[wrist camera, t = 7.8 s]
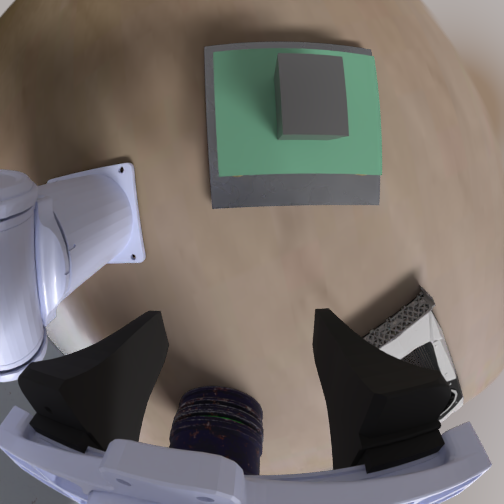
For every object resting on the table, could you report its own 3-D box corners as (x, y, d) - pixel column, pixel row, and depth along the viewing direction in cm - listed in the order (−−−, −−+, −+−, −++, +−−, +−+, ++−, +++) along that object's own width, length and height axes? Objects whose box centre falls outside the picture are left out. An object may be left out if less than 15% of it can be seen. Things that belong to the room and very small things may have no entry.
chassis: (214, 206, 20) (208, 213, 18) (206, 51, 16) (199, 39, 14) (374, 202, 19) (387, 209, 17) (366, 53, 15) (378, 43, 13)
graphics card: (434, 298, 19) (469, 405, 25) (416, 281, 22) (460, 391, 28) (338, 367, 21) (412, 443, 27) (331, 344, 24) (406, 428, 30)
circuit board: (221, 175, 17) (205, 183, 12) (215, 57, 14) (199, 25, 9) (375, 174, 16) (413, 182, 12) (368, 60, 14) (400, 35, 9)
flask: (20, 327, 26) (-80, 443, 2) (27, 311, 24) (-88, 439, 1) (111, 413, 30) (53, 552, 6) (126, 405, 29) (64, 563, 5)
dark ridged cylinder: (276, 425, 28) (278, 534, 14) (206, 437, 30) (189, 533, 16) (240, 376, 25) (227, 516, 11) (162, 393, 27) (124, 504, 13)
